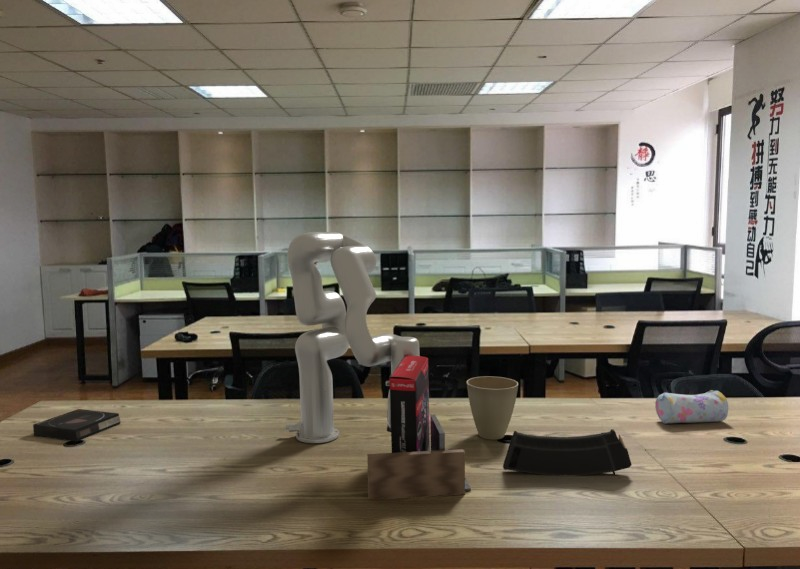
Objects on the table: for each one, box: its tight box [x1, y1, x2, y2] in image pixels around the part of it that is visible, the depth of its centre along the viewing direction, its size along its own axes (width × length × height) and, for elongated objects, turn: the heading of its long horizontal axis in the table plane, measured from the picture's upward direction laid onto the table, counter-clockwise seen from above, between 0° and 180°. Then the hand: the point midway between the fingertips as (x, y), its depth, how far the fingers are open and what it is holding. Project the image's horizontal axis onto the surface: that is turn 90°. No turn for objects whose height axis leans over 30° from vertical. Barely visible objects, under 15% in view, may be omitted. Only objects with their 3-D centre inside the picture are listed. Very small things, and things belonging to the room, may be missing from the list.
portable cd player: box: [32, 408, 121, 442], centre depth 184 cm, size 16×17×4 cm
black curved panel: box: [502, 428, 633, 476], centre depth 147 cm, size 17×3×30 cm
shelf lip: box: [367, 448, 466, 501], centre depth 135 cm, size 22×2×10 cm, turn 96°
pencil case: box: [654, 389, 729, 425], centre depth 185 cm, size 21×9×10 cm, turn 99°
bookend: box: [429, 414, 472, 492], centre depth 144 cm, size 7×14×14 cm, turn 6°
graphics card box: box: [389, 355, 431, 453], centre depth 146 cm, size 17×7×27 cm, turn 168°
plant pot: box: [466, 375, 519, 441], centre depth 174 cm, size 15×15×16 cm
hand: (407, 452), depth 158 cm, fingers closed
